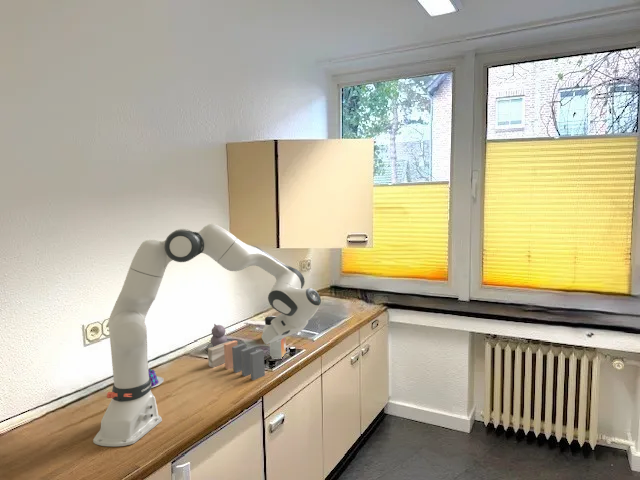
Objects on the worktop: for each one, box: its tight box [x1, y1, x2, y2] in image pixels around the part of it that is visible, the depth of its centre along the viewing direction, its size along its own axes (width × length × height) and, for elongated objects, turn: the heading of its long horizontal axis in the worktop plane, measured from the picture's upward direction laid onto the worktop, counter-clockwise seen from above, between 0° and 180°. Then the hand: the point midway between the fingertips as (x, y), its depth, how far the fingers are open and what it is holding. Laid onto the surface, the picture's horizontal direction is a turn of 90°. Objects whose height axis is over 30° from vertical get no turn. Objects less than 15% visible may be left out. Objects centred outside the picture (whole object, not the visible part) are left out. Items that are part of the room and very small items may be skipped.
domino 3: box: [250, 348, 266, 381], centre depth 185 cm, size 2×6×11 cm, turn 138°
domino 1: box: [232, 343, 247, 374], centre depth 192 cm, size 2×6×11 cm, turn 138°
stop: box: [207, 340, 232, 368], centre depth 201 cm, size 3×12×8 cm, turn 138°
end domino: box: [224, 340, 239, 370], centre depth 196 cm, size 2×6×11 cm, turn 138°
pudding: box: [148, 368, 164, 389], centre depth 183 cm, size 12×12×5 cm
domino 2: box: [241, 345, 256, 377], centre depth 189 cm, size 2×6×11 cm, turn 138°
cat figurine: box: [210, 323, 228, 347], centre depth 217 cm, size 8×8×12 cm
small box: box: [269, 336, 287, 360], centre depth 206 cm, size 8×6×10 cm
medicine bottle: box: [262, 315, 277, 334], centre depth 229 cm, size 7×7×12 cm
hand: (276, 340), depth 175 cm, fingers closed
